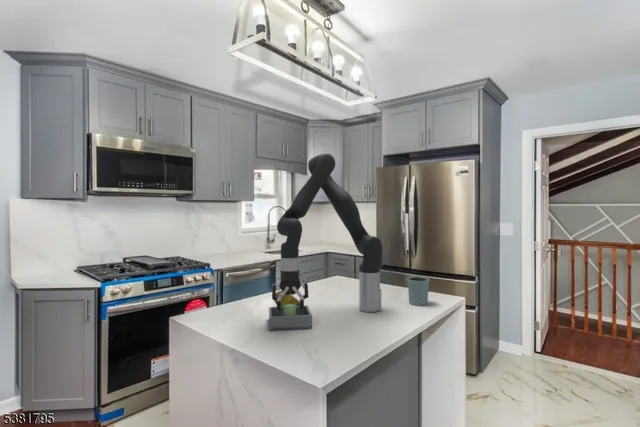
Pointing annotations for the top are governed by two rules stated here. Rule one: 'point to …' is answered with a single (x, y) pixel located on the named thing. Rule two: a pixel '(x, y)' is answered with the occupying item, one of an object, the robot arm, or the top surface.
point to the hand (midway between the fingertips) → (290, 309)
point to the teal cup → (418, 290)
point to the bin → (290, 319)
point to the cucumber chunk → (289, 310)
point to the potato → (287, 300)
